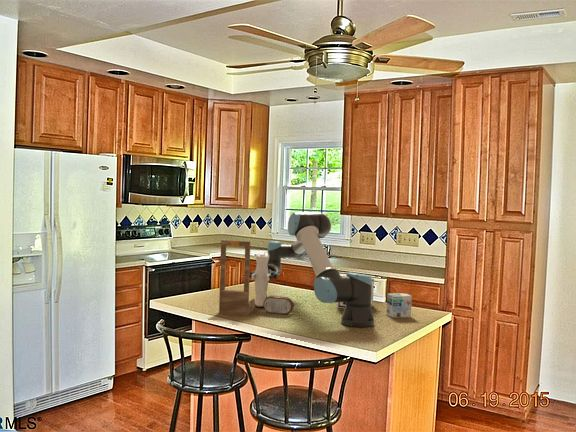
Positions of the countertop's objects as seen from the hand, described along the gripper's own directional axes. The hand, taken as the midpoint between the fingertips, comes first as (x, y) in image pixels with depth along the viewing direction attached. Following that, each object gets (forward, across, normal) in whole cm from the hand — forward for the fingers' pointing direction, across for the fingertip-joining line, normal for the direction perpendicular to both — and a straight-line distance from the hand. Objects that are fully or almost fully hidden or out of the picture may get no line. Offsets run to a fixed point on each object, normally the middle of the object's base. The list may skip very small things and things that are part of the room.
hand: (259, 277), depth 277 cm
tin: (+6, -11, -16) cm, 20 cm away
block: (-24, -47, -16) cm, 55 cm away
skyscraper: (-5, 0, -15) cm, 16 cm away
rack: (+9, +9, -16) cm, 20 cm away
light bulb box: (-9, -69, -16) cm, 72 cm away
